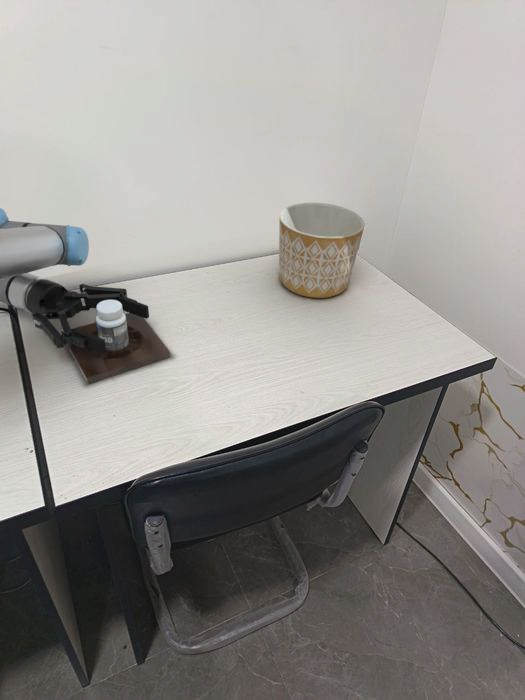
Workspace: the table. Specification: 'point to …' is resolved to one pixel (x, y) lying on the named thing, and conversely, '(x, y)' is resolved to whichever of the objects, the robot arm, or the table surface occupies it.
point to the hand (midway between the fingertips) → (127, 328)
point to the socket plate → (120, 351)
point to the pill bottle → (112, 325)
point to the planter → (318, 248)
